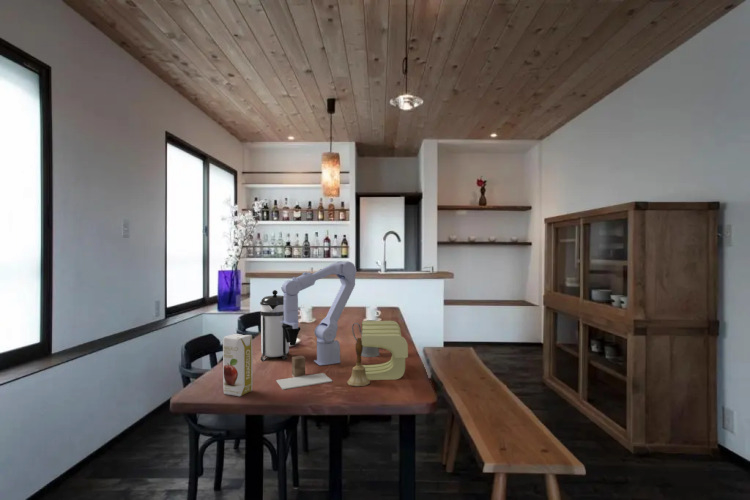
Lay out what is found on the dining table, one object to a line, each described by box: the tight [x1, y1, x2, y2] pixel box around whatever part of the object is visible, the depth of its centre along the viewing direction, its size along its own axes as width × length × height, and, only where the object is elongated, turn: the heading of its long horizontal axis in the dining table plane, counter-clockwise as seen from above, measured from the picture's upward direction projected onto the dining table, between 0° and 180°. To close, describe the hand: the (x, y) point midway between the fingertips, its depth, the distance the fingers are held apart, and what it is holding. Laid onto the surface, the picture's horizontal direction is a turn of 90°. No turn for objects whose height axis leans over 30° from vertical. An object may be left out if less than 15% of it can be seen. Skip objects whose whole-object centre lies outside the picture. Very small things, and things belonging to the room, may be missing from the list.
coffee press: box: [259, 289, 290, 361], centre depth 178 cm, size 17×16×30 cm
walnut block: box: [291, 355, 306, 378], centre depth 150 cm, size 4×4×7 cm
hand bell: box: [346, 337, 371, 387], centre depth 141 cm, size 8×8×16 cm
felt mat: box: [275, 372, 333, 390], centre depth 143 cm, size 18×10×1 cm, turn 117°
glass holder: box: [351, 319, 381, 358], centre depth 181 cm, size 9×14×15 cm, turn 58°
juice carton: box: [222, 333, 254, 397], centre depth 132 cm, size 8×9×19 cm
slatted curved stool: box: [361, 320, 409, 381], centre depth 151 cm, size 30×16×18 cm, turn 1°
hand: (291, 343), depth 160 cm, fingers open, 5 cm apart
